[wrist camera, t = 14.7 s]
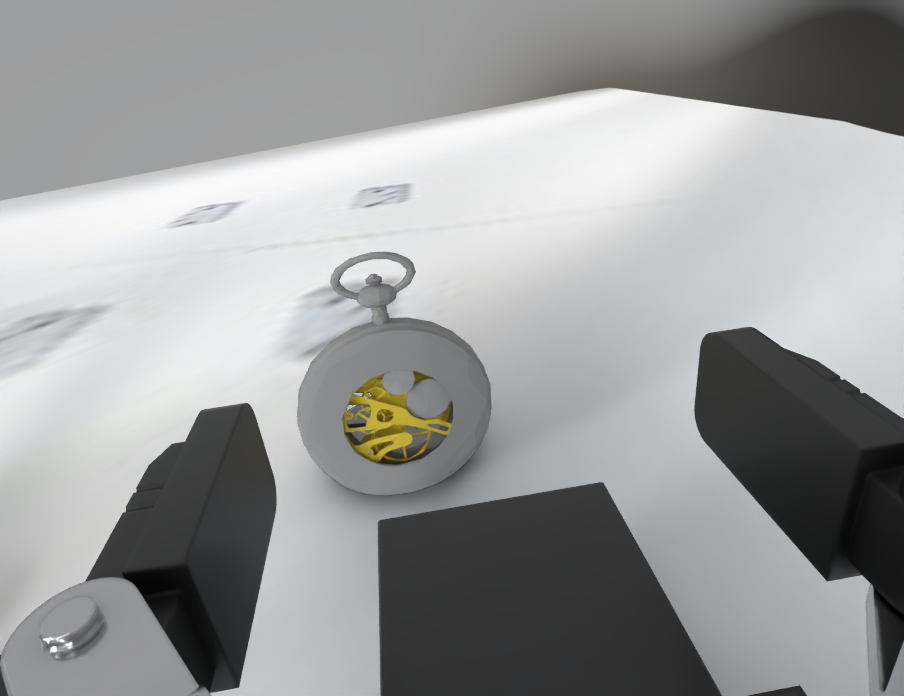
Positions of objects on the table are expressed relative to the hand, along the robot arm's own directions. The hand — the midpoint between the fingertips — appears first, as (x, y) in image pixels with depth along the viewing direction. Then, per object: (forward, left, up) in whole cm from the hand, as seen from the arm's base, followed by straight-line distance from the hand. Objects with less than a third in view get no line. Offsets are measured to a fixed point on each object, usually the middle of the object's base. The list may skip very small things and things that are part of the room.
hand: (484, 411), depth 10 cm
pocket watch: (-10, +6, -9) cm, 15 cm away
